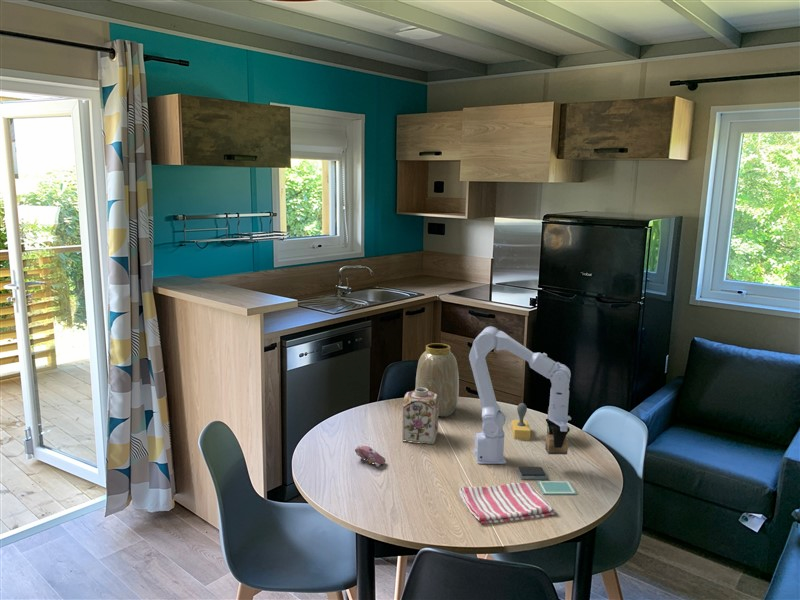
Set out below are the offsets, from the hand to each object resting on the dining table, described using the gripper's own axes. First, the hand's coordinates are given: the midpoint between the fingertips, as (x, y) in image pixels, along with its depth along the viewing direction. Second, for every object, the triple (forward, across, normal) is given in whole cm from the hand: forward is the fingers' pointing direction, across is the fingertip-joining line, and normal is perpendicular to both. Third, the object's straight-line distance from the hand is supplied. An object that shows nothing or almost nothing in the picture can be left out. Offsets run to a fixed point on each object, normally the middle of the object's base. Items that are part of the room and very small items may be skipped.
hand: (556, 444), depth 196 cm
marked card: (+8, -13, +3) cm, 16 cm away
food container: (+9, +24, -7) cm, 26 cm away
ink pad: (+8, -4, +8) cm, 13 cm away
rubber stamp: (+9, +28, +5) cm, 30 cm away
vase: (+9, +51, +34) cm, 62 cm away
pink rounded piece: (+9, +4, +60) cm, 60 cm away
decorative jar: (+9, +25, +42) cm, 50 cm away
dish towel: (+9, -23, +20) cm, 32 cm away
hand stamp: (+3, 0, 0) cm, 3 cm away
